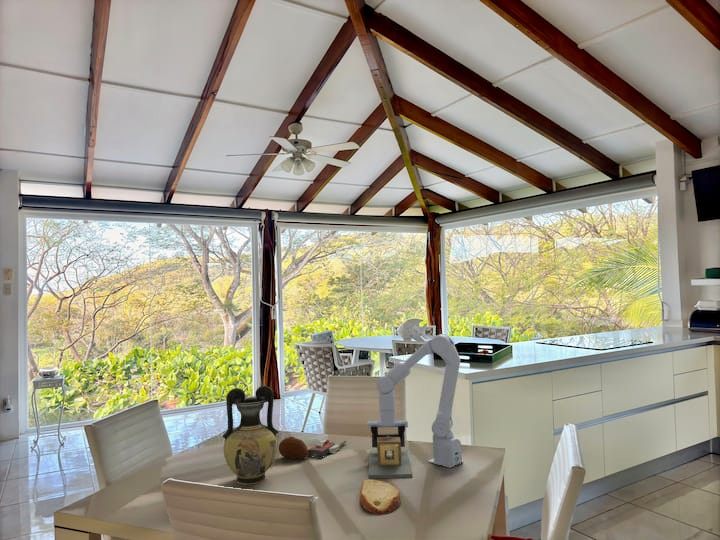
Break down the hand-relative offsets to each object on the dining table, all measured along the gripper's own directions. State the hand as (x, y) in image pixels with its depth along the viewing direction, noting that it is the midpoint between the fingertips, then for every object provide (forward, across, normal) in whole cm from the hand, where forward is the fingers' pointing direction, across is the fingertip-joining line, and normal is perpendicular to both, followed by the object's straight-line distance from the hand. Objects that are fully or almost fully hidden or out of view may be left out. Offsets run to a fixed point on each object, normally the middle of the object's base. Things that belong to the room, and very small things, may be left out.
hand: (388, 447), depth 173 cm
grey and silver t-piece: (+1, 0, +5) cm, 5 cm away
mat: (+4, 0, +7) cm, 8 cm away
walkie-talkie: (+4, +23, -12) cm, 27 cm away
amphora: (+4, +45, +18) cm, 49 cm away
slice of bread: (+4, +5, +35) cm, 36 cm away
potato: (+4, +35, -3) cm, 36 cm away
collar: (+1, 0, +13) cm, 13 cm away
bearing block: (+4, 0, +7) cm, 8 cm away
